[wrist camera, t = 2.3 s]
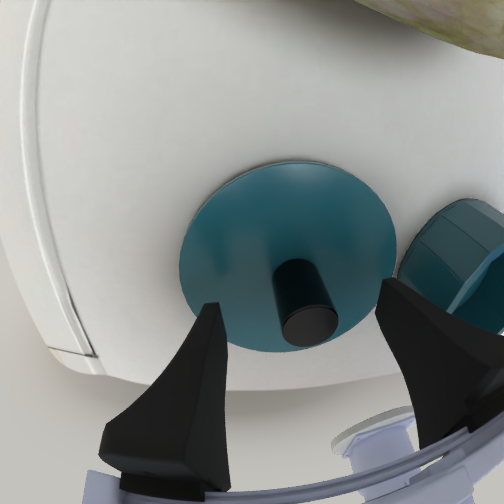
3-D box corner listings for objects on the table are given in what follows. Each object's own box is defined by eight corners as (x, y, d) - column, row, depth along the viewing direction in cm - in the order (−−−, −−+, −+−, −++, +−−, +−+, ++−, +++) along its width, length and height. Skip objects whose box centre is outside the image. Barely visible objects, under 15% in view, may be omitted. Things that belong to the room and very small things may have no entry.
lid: (372, 324, 17) (397, 375, 13) (206, 348, 17) (202, 407, 13) (396, 155, 12) (455, 182, 8) (160, 174, 12) (124, 211, 8)
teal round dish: (473, 307, 18) (501, 343, 14) (381, 335, 18) (406, 387, 14) (507, 198, 13) (551, 227, 9) (409, 200, 13) (466, 243, 9)
